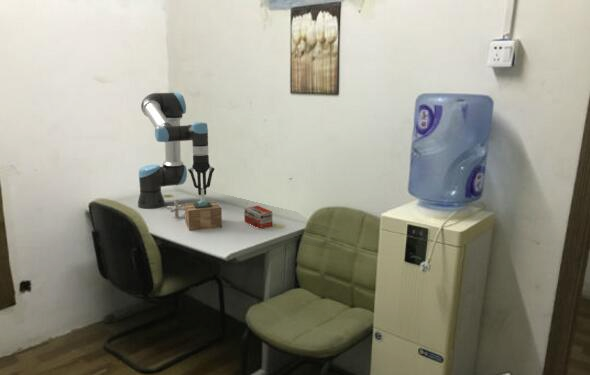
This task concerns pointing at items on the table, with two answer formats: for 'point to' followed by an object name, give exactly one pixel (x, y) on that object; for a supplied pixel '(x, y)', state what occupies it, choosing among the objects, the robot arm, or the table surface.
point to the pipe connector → (176, 208)
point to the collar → (202, 206)
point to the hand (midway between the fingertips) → (202, 201)
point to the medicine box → (258, 216)
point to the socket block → (203, 217)
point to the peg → (202, 203)
